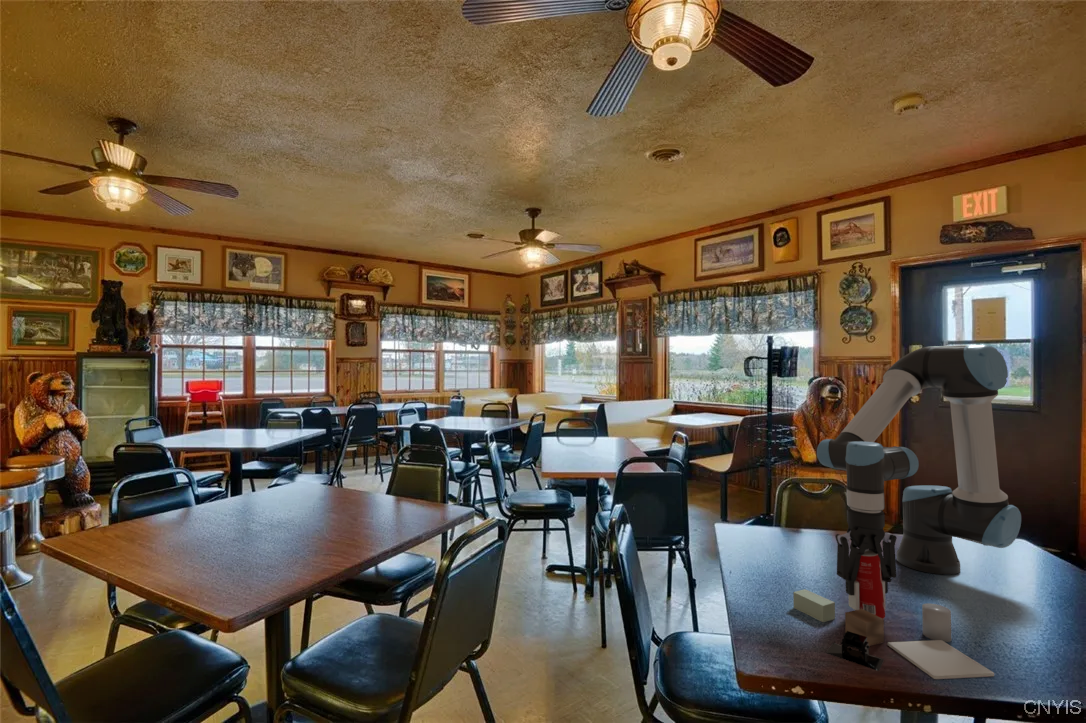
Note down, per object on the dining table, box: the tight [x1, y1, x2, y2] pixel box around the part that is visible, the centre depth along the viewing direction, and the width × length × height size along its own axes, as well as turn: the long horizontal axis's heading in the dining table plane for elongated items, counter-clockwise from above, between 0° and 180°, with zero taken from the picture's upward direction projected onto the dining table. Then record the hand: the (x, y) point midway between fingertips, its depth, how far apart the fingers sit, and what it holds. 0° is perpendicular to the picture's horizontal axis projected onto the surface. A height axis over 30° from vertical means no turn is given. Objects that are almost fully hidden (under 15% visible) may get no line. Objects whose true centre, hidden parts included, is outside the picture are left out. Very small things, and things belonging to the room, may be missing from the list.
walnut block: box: [844, 609, 885, 646], centre depth 113 cm, size 5×5×5 cm
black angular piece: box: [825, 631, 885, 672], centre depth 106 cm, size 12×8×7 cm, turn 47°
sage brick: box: [792, 589, 836, 623], centre depth 124 cm, size 4×8×4 cm, turn 24°
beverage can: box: [856, 549, 886, 620], centre depth 122 cm, size 6×6×15 cm
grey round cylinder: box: [921, 603, 953, 643], centre depth 113 cm, size 5×5×6 cm
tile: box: [887, 639, 995, 680], centre depth 104 cm, size 12×12×1 cm
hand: (867, 607), depth 122 cm, fingers closed on beverage can, 6 cm apart
